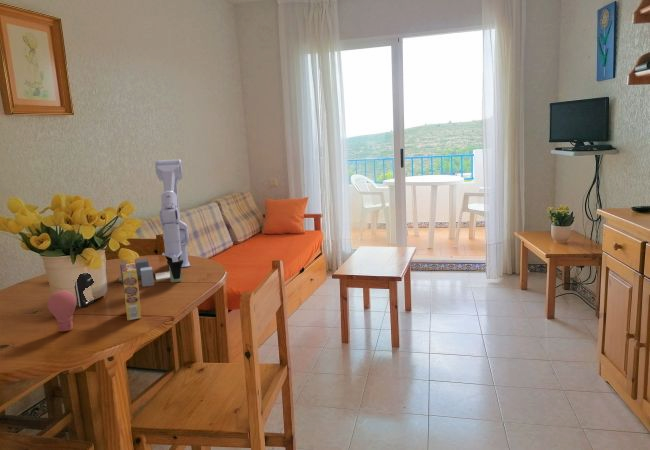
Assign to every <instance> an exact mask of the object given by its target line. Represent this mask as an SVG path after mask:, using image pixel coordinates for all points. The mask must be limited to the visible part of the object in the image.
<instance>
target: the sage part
mask: <svg viewBox="0 0 650 450" xmlns="http://www.w3.org/2000/svg"><path fill="white" fill-rule="evenodd" d="M168 268H169V269H168V272H169V271H170V279H169V280H170V282H171V283H177V282H182V281H183V273H182V271H181V273H180V279H174V278H173V275H172V271H171V269H170V267H169V266H168Z"/></svg>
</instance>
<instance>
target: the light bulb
mask: <svg viewBox="0 0 650 450" xmlns="http://www.w3.org/2000/svg"><path fill="white" fill-rule="evenodd" d="M76 307H77V298H76V295H75V294H73V292H72V291H69V290H65V289H63V290H62V289H61V290H57V291H55V292H54V293H52V294H50V296H49V298H48V299H47V308H48V310H49V312H50V314H51V315H52V316H54V317H55V319H56V322H57V330H58V331H59V332H67V331H70V330H72V329H73V328H74V326H73V325H74V323H73V319H74V317H73V315H74V312H75V310H76Z"/></svg>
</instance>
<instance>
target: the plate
mask: <svg viewBox="0 0 650 450" xmlns="http://www.w3.org/2000/svg"><path fill="white" fill-rule="evenodd" d="M154 274H155V281H163V280H168V279H169V280H170V271H169V270H168V271H163V272H157V273H156V272H155V273H154Z"/></svg>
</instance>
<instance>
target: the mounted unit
mask: <svg viewBox="0 0 650 450" xmlns="http://www.w3.org/2000/svg"><path fill="white" fill-rule="evenodd" d="M134 260H135V265H136V270H137V278H138V281H140V280H141V281H142V278H141V269H140V268H145V267H150V265H149V258H140V259H134ZM125 261H126V260H125ZM125 261H120V262H119V267H120V275H119V276H118V283H119V284H120V283H123V276H122V266H121V265H124V264H128V263H127V262H125Z"/></svg>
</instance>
